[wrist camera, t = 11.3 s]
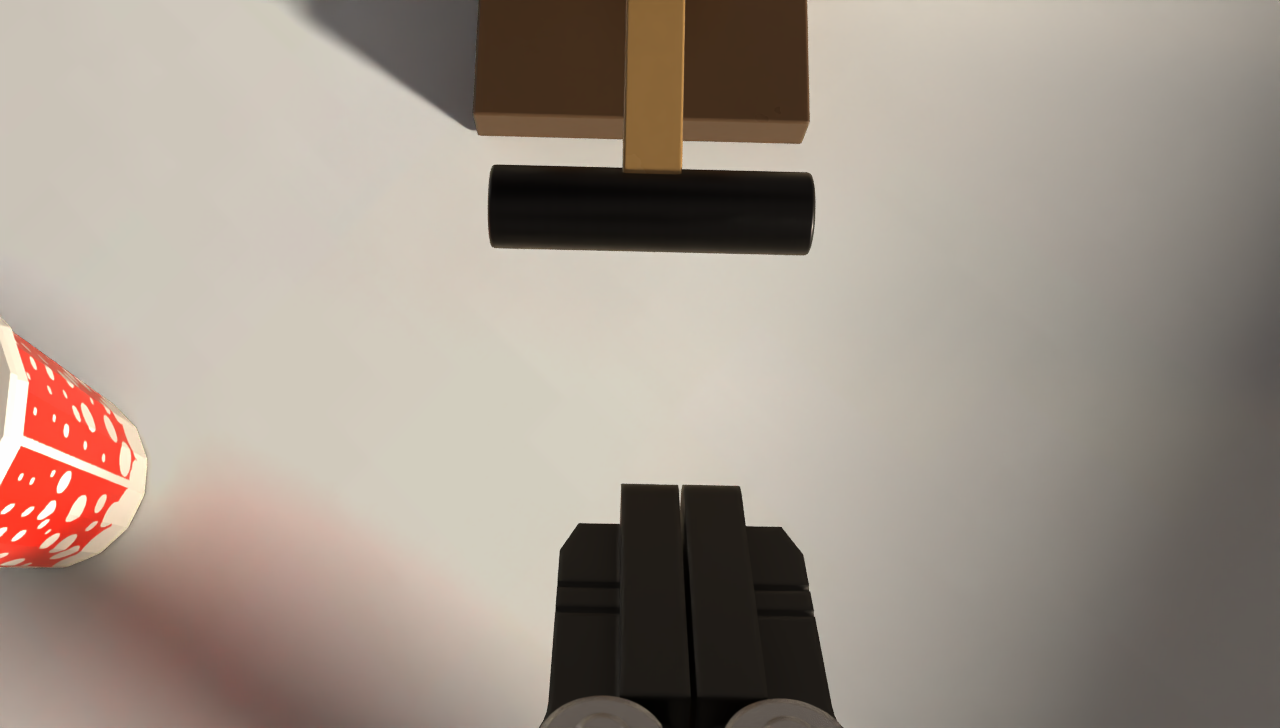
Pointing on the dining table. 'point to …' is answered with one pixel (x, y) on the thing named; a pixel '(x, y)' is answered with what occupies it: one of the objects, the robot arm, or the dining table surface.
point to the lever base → (595, 62)
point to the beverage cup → (61, 462)
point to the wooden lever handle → (651, 176)
